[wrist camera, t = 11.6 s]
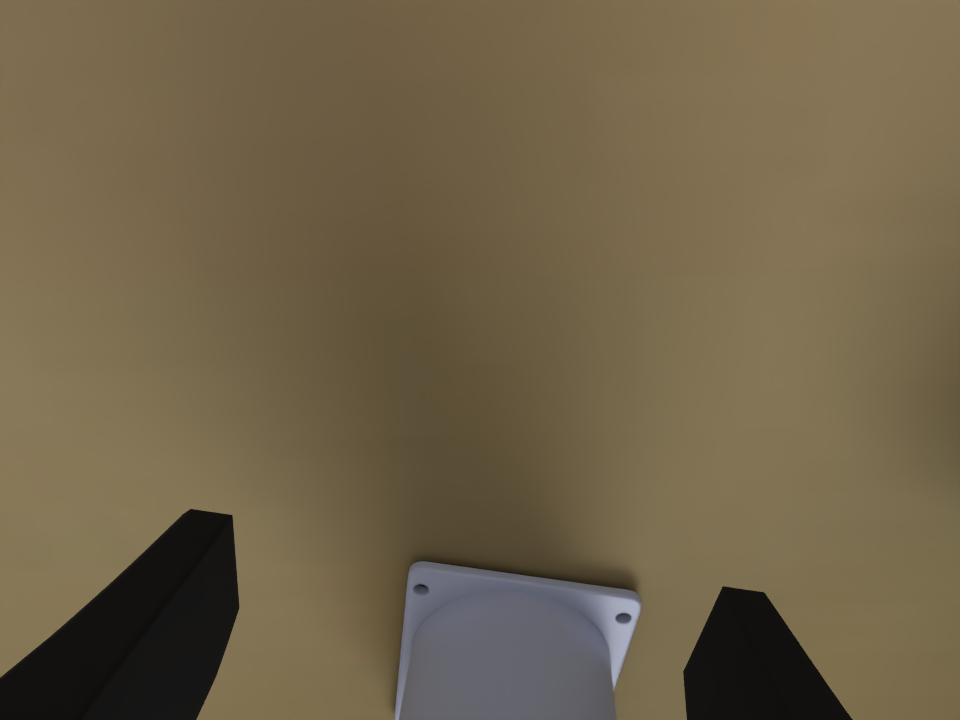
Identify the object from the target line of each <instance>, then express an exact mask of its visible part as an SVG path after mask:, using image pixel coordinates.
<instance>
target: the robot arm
mask: <svg viewBox="0 0 960 720" xmlns="http://www.w3.org/2000/svg"><path fill="white" fill-rule="evenodd" d="M418 584H422V585H425V586H419V585H418ZM238 610H239V597H238V584H237V571H236V557H235V544H234V531H233V517H232V515H228V514H221V513H214V512H207V511H200V510H193V509H190V510H189V511H187V512H186V513H184V514H183V515H182V516H181V517H180V518H179V519H178V520H177V521H176V522H175V523H174V524H173V525H172V526H170V527H169V528H168V529H167V530H166V531H165V532H164V533H163V534H162V535H161V536H160V537H159V538H158V539H157V540H156V541H155V542H154V543H153V544H152V545H151V546H150V547H149V548H148V549H147V550H146V551H145V552H144V553H142V554H141V555H140V556H139V557H138V558H137V559H136V560H135V561H134V562H133V563H132V564H131V565H130V566H129V567H128V568H127V569H125V570H124V571H123V572H122V573H121V574H120V575H119V576H118V577H117V578H116V579H115V580H114V581H113V582H111V583H110V584H109V585H108V586H107V587H106V588H105V589H104V590H103V591H101V592H100V593H99V594H98V595H97V596H96V597H95V598H94V599H92V600H91V601H90V602H89V603H88V604H87V605H86V606H85V607H83V608H82V609H81V610H80V611H79V612H78V613H77V614H76V615H74V616H73V617H72V618H71V619H70V620H69V621H68V622H67V623H66V624H64V625H63V626H62V627H61V628H60V629H59V630H57V631H56V632H55V633H54V634H53V635H52V636H50V637H49V638H48V639H47V640H46V641H44V642H43V643H42V644H41V645H40V646H38V647H37V648H36V649H35V650H33V651H32V652H31V653H30V654H29V655H27V656H26V657H25V658H24V659H22V660H21V661H20V662H19V663H18V664H16V665H15V666H14V667H13V668H11V669H10V670H9V671H8V672H7V673H5V674H4V675H3V676H2V677H0V720H196V719H197V717H198V715H199V712H200V710H201V708H202V706H203V704H204V702H205V699H206V697H207V695H208V693H209V691H210V689H211V686H212V684H213V682H214V680H215V678H216V675H217V672H218V669H219V666H220V664H221V661H222V658H223V655H224V652H225V649H226V647H227V644H228V641H229V638H230V634H231V631H232V628H233V625H234V622H235V619H236V616H237V613H238ZM640 611H641V599H640V597H639V595H638V594H637V593H636V592H634V591H631V590H626V589H619V588H612V587H605V586H598V585H590V584H583V583H576V582H569V581H562V580H555V579H548V578H541V577H533V576H526V575H519V574H512V573H505V572H498V571H491V570H484V569H476V568H469V567H462V566H455V565H448V564H441V563H434V562H427V561H419V562H416V563H414V564H412V565H411V567H410V569H409V574H408V581H407V591H406V601H405V612H404V622H403V632H402V643H401V653H400V664H399V674H398V684H397V695H396V705H395V715H394V720H616V710H615V700H614V689H615V686H616V683H617V680H618V677H619V674H620V671H621V668H622V665H623V662H624V659H625V656H626V653H627V650H628V647H629V644H630V641H631V638H632V635H633V632H634V629H635V626H636V623H637V620H638V617H639V614H640ZM620 613H626V614H620ZM683 674H684V687H685V700H686V712H687V720H852V718H851V717H850V716H849V714H848V713H847V712H846V710H845V709H844V707H843V706H842V705H841V703H840V702H839V700H838V699H837V697H836V696H835V695H834V693H833V692H832V690H831V689H830V687H829V686H828V685H827V683H826V682H825V680H824V679H823V677H822V676H821V674H820V673H819V672H818V670H817V669H816V667H815V666H814V664H813V663H812V661H811V660H810V659H809V657H808V656H807V654H806V653H805V651H804V650H803V648H802V647H801V645H800V644H799V642H798V641H797V639H796V638H795V637H794V635H793V634H792V632H791V631H790V629H789V628H788V626H787V625H786V623H785V622H784V620H783V619H782V617H781V616H780V615H779V613H778V612H777V610H776V609H775V607H774V606H773V604H772V603H771V602H770V600H769V599H768V597H767V596H766V594H765V593H764V592H757V591H750V590H744V589H737V588H730V587H722V590H721V592H720V594H719V596H718V598H717V600H716V603H715V605H714V607H713V609H712V611H711V613H710V615H709V618H708V620H707V622H706V624H705V626H704V628H703V631H702V633H701V635H700V637H699V639H698V641H697V643H696V646H695V648H694V650H693V652H692V654H691V656H690V659H689V661H688V663H687V665H686V667H685V669H684V671H683Z"/></svg>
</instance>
